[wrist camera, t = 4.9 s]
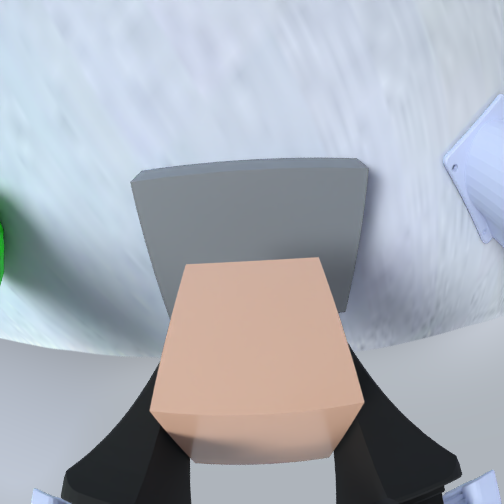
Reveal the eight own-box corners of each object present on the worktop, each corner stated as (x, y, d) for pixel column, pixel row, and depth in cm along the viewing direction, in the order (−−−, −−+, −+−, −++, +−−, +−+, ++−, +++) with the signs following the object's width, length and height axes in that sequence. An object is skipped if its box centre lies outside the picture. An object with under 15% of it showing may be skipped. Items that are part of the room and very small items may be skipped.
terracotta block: (318, 257, 11) (364, 402, 6) (309, 342, 13) (328, 457, 8) (185, 264, 11) (149, 410, 6) (206, 347, 13) (195, 463, 8)
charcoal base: (356, 158, 15) (368, 168, 13) (339, 294, 20) (345, 311, 19) (141, 170, 15) (130, 182, 13) (175, 303, 20) (170, 320, 19)
